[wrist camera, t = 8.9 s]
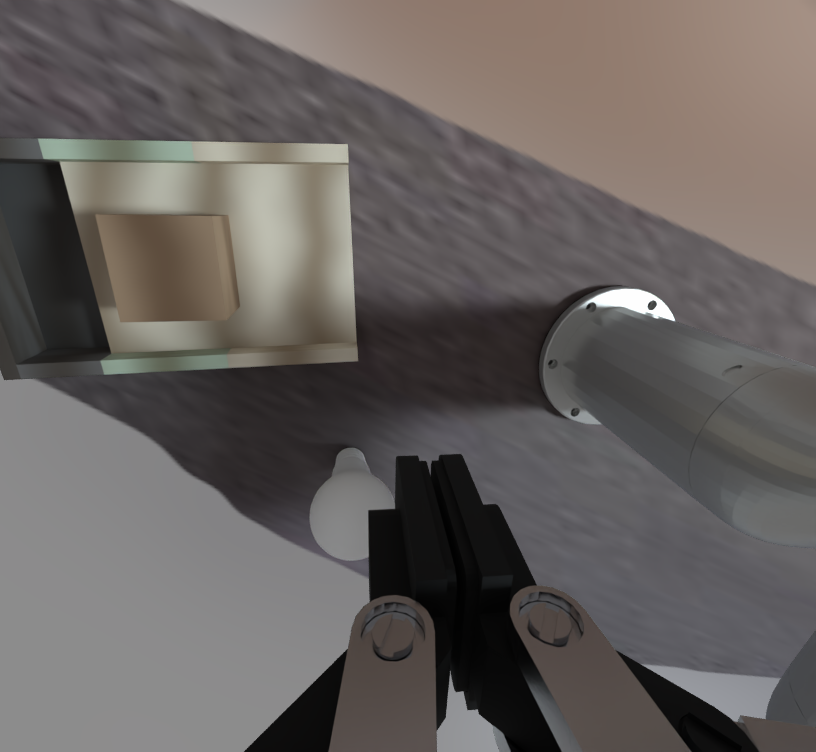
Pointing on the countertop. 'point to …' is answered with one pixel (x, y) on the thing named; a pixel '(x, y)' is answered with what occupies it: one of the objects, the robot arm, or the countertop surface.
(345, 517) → the lightbulb
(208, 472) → the countertop surface
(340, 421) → the countertop surface
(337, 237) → the trap lane
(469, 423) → the countertop surface
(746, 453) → the robot arm
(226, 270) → the walnut block
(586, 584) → the countertop surface
